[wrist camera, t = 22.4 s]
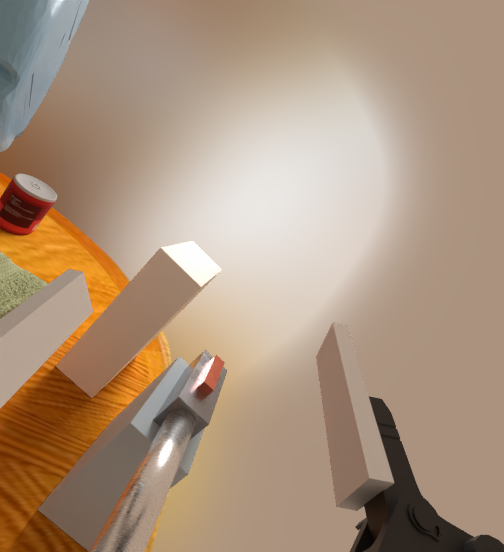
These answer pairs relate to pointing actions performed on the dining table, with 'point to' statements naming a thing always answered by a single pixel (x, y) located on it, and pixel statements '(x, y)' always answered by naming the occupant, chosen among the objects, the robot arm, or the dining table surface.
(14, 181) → the canned food
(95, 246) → the dining table surface
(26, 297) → the washcloth
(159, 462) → the grey piece
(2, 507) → the dining table surface
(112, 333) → the tall stand
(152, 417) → the low stand
